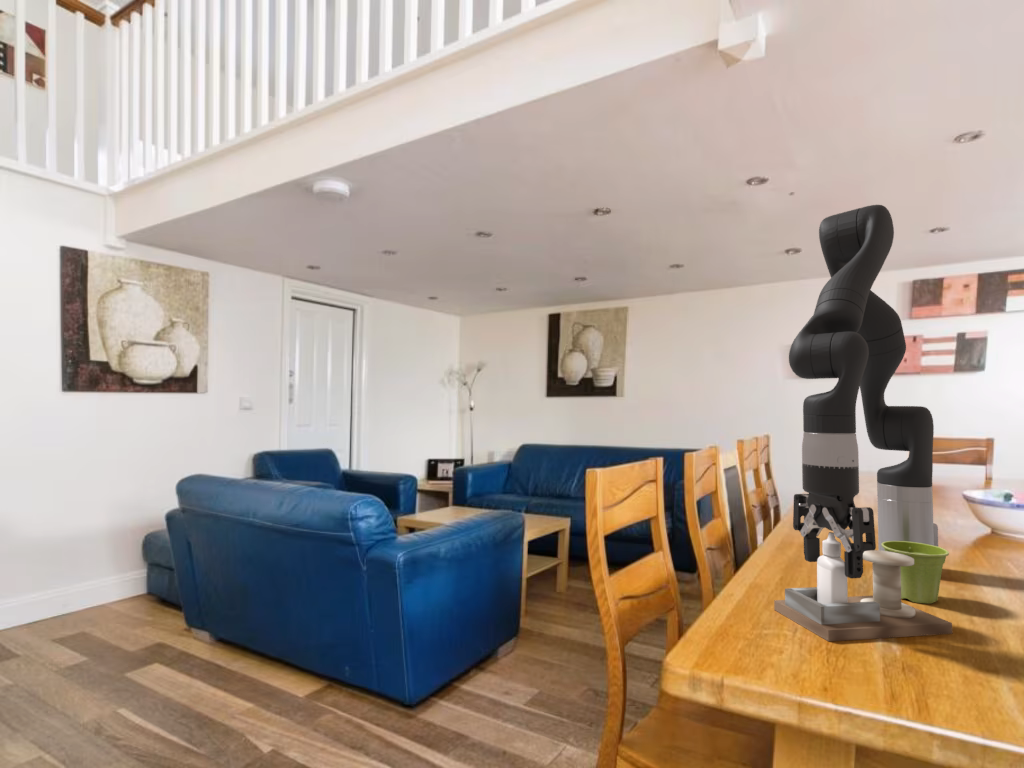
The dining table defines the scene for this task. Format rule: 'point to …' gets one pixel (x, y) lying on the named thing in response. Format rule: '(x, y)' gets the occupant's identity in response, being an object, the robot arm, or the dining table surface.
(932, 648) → the dining table surface
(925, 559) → the plant pot
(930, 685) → the dining table surface
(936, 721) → the dining table surface
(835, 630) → the board
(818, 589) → the eye dropper bottle
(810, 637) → the dining table surface
